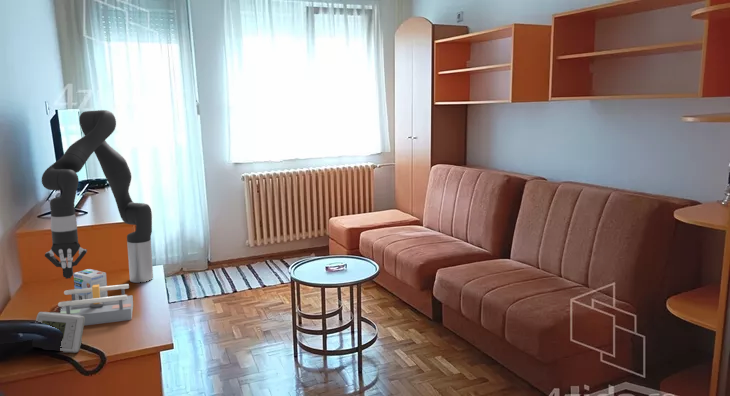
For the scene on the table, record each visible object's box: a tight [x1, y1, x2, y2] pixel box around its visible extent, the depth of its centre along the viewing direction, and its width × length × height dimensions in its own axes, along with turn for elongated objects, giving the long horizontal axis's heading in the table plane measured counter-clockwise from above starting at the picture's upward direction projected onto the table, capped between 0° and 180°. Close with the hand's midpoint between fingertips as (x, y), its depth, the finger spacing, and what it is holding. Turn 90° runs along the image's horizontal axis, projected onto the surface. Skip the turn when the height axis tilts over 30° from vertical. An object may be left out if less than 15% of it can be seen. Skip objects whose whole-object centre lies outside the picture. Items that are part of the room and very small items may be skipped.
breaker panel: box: [57, 283, 134, 326], centre depth 181 cm, size 14×22×9 cm, turn 111°
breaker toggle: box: [90, 284, 104, 308], centre depth 181 cm, size 4×4×7 cm
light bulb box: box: [73, 268, 109, 300], centre depth 197 cm, size 11×7×11 cm, turn 62°
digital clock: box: [35, 311, 85, 354], centre depth 157 cm, size 16×9×11 cm, turn 68°
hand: (68, 277), depth 177 cm, fingers closed
